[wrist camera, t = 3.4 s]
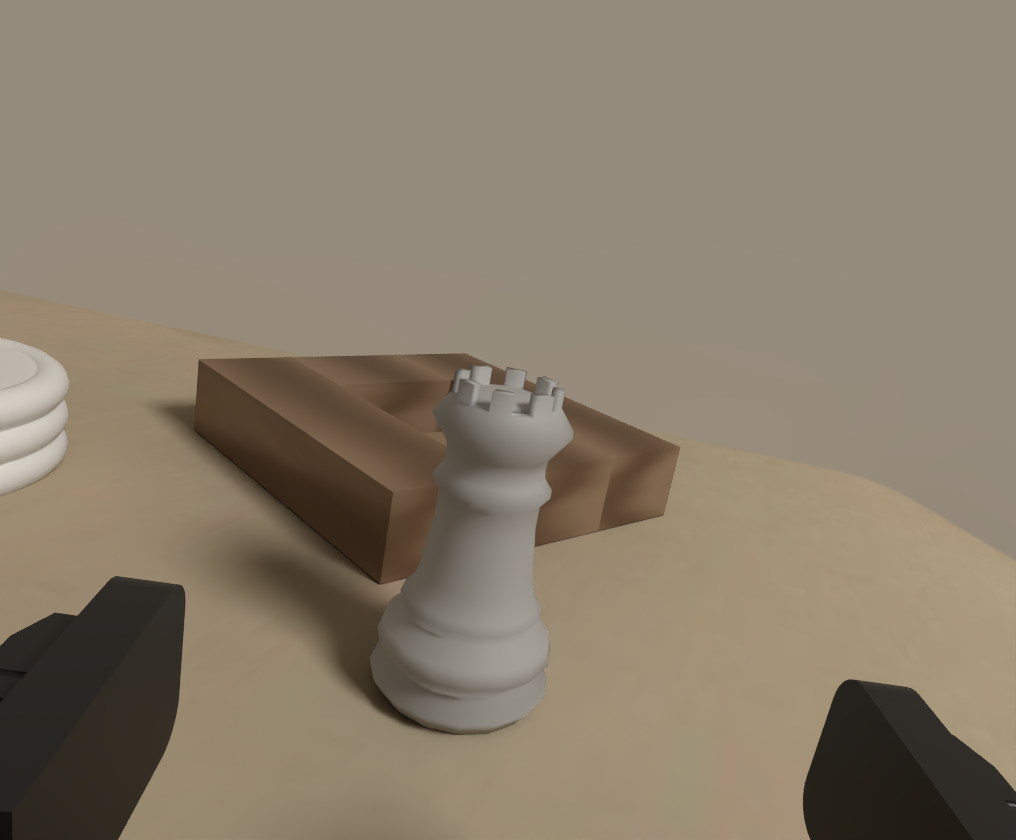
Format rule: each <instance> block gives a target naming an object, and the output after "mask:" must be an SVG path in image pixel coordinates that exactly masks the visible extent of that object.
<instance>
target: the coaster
mask: <svg viewBox="0 0 1016 840" xmlns="http://www.w3.org/2000/svg"><path fill="white" fill-rule="evenodd" d="M68 388H69V380H68V377H67V374H66V371H65V369H64V368H63V367H62V366H61V365H60V364H59V363H58V362H57V361H56V360H55V359H54V358H52V357H51V356H50V355H48V354H46V353H45V352H43V351H41V350H39V349H36V348H34V347H31V346H28V345H25V344H23V343H19V342H15V341H12V340H8V339H4V338H0V496H2V495H5V494H8V493H11V492H13V491H16V490H19V489H21V488H24V487H26V486H28V485H30V484H33V483H34V482H36V481H38V480H40V479H42V478H43V477H45V476H46V475H48V474H49V473H50V472H52V471H53V470H54V469H55V468H56V467H57V466H58V465H59V464H60V463H61V461H62V459H63V457H64V455H65V452H66V450H67V447H68V439H67V436H66V433H65V431H64V427H65V425H66V422H67V420H68V409H67V406H66V403H65V401H64V398H65V396H66V394H67V391H68Z"/></svg>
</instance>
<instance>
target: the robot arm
mask: <svg viewBox="0 0 1016 840" xmlns="http://www.w3.org/2000/svg"><path fill="white" fill-rule="evenodd" d="M184 617H185V592H184V588H183V587H182V586H181V585H177V584H170V583H163V582H156V581H148V580H141V579H134V578H127V577H119V576H116V577H113V578H111V579H110V580H109V581H108V582H107V583H106V584H105V586H104V587H103V588H102V589H101V590H100V591H99V592H98V593H97V595H96V596H95V597H94V598H93V599H92V600H91V601H90V602H89V604H88V605H87V606H86V607H85V608H84V609H83V610H82V611H81V613H80V614H79V615H78V616H75V615H68V614H60V613H54V614H52V615H50V616H48V617H46V618H44V619H42V620H40V621H38V622H36V623H34V624H32V625H30V626H28V627H26V628H24V629H22V630H21V631H19V632H17V633H15V634H13V635H11V636H10V637H9V638H8V639H7V640H6V641H5V642H4V643H3V644H2V645H1V646H0V840H118V839H119V837H120V835H121V833H122V831H123V829H124V827H125V825H126V824H127V822H128V820H129V818H130V816H131V814H132V812H133V811H134V809H135V807H136V805H137V803H138V801H139V799H140V798H141V796H142V794H143V792H144V790H145V788H146V786H147V784H148V783H149V781H150V779H151V777H152V775H153V773H154V771H155V770H156V768H157V766H158V764H159V762H160V760H161V758H162V756H163V754H164V752H165V750H166V747H167V745H168V742H169V739H170V736H171V733H172V730H173V726H174V723H175V718H176V714H177V708H178V702H179V690H180V675H181V661H182V646H183V631H184ZM803 812H804V820H805V824H806V828H807V832H808V835H809V837H810V839H811V840H1016V792H1015V791H1014V789H1013V788H1012V787H1011V786H1010V785H1009V783H1008V782H1007V781H1006V780H1005V779H1004V777H1003V776H1002V775H1001V774H1000V773H999V772H998V770H997V769H996V768H995V767H994V766H993V765H991V764H990V763H989V762H988V761H986V760H985V759H984V758H982V757H981V756H980V755H978V754H977V753H976V752H975V751H973V750H972V749H971V748H969V747H968V746H967V745H966V744H964V743H963V742H962V741H960V740H959V739H958V738H957V737H955V736H954V735H951V733H950V732H949V731H948V730H947V728H946V727H945V726H944V725H943V724H942V722H941V721H940V720H939V719H938V717H937V716H936V715H935V714H934V712H933V711H932V710H931V709H930V708H929V706H928V705H927V704H926V703H925V701H924V700H923V699H922V698H921V697H920V695H919V694H918V693H917V692H916V691H914V690H913V689H911V688H908V687H903V686H896V685H889V684H881V683H874V682H867V681H860V680H846V681H844V682H843V683H842V684H841V685H840V686H839V687H838V689H837V691H836V693H835V695H834V698H833V701H832V704H831V707H830V710H829V713H828V716H827V719H826V722H825V725H824V728H823V731H822V733H821V736H820V739H819V742H818V745H817V748H816V751H815V754H814V757H813V760H812V763H811V766H810V769H809V772H808V775H807V778H806V781H805V786H804V793H803Z"/></svg>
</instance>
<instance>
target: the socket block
mask: <svg viewBox="0 0 1016 840" xmlns="http://www.w3.org/2000/svg"><path fill="white" fill-rule="evenodd" d="M470 365H488V366H489V367H491V368H492V372H491V378H490V384H494V385H504V380H505V374H506V371H504V370H502V369H499V368H497V367H495V366H493V365H490V364H488V363H486V362H483V361H481V360H479V359H476V358H474V357H472V356H470V355H467V354H465V353H463V354H421V355H420V354H418V355H376V356H375V355H374V356H330V357H286V358H242V359H199V365H198V380H197V395H196V410H195V425H194V429H195V430H196V431H197V432H198V433H200V434H201V435H202V436H203V437H204V438H206V439H207V440H208V441H209V442H210V443H212V444H213V445H214V446H215V447H216V448H218V449H219V450H220V451H221V452H222V453H224V454H225V455H226V456H227V457H228V458H230V459H231V460H232V461H233V462H234V463H236V464H237V465H238V466H239V467H240V468H242V469H243V470H244V471H245V472H246V473H248V474H249V475H250V476H251V477H252V478H254V479H255V480H256V481H257V482H258V483H260V484H261V485H262V486H263V487H264V488H266V489H267V490H268V491H269V492H270V493H272V494H273V495H274V496H275V497H276V498H278V499H279V500H280V501H281V502H282V503H284V504H285V505H286V506H287V507H288V508H290V509H291V510H292V511H293V512H294V513H295V514H297V515H298V516H299V517H300V518H301V519H303V520H304V521H305V522H306V523H307V524H309V525H310V526H311V527H312V528H313V529H315V530H316V531H317V532H318V533H319V534H321V535H322V536H323V537H324V538H325V539H327V540H328V541H329V542H330V543H331V544H333V545H334V546H335V547H336V548H337V549H339V550H340V551H341V552H342V553H343V554H345V555H346V556H347V557H348V558H349V559H351V560H352V561H353V562H354V563H355V564H357V565H358V566H359V567H360V568H361V569H363V570H364V571H365V572H366V573H367V574H369V575H370V576H371V577H372V578H373V579H375V580H376V581H377V582H378V583H379V584H382V583H386V582H390V581H394V580H399V579H403V578H407V577H408V576H410V575H412V574H414V573H415V571H416V569H417V567H418V565H419V563H420V560H421V557H422V554H423V550H424V547H425V544H426V541H427V538H428V534H429V531H430V528H431V525H432V522H433V518H434V515H435V509H436V502H437V496H438V490H439V487H438V485H437V484H436V482H435V480H434V477H433V475H432V473H433V472H434V470H435V469H436V467H437V466H438V465H439V464H440V463H442V462H443V461H444V459H445V456H446V452H447V440H446V438H445V436H444V434H443V432H442V430H441V428H440V426H439V424H438V423H437V421H436V419H435V417H434V415H433V413H432V410H433V409H434V408H435V406H436V405H437V404H438V403H439V402H440V401H441V400H442V399H443V398H444V397H445V396H447V395H448V394H449V393H450V392H451V391H452V388H453V381H454V375H455V372H456V370H457V369H458V368H462V369H466V370H470ZM535 388H536V384H534V383H531V382H529V381H527V380H525V384H524V390H527V391H530V392H533V393H535ZM562 410H563V412H564V414H565V415H566V417H567V419H568V421H569V423H570V425H571V427H572V429H573V431H574V433H573V439H572V440H571V441H570V442H569V443H568V444H567V445H566V446H565V447H564V448H563V449H561V450H560V451H559V452H558V453H557V454H556V455H555V456H554V457H553V458H551V459H550V460H549V461H548V464H547V467H546V472H545V479H546V481H547V483H548V484H549V486H550V488H551V490H552V492H551V497H550V499H549V500H548V501H547V502H546V503H544V504H543V505H542V506H541V507H540V508H539V513H538V518H537V523H536V528H535V546H538V545H542V544H546V543H550V542H554V541H559V540H563V539H567V538H571V537H575V536H579V535H583V534H587V533H591V532H595V531H600V530H604V529H608V528H612V527H616V526H620V525H624V524H628V523H632V522H637V521H641V520H645V519H649V518H653V517H657V516H661V515H664V511H665V507H666V503H667V499H668V495H669V491H670V487H671V483H672V479H673V475H674V471H675V467H676V462H677V458H678V454H679V450H680V447H678V446H676V445H674V444H672V443H669V442H667V441H665V440H662V439H660V438H658V437H655V436H653V435H651V434H649V433H646V432H644V431H642V430H639V429H637V428H635V427H633V426H630V425H628V424H626V423H623V422H621V421H619V420H616V419H614V418H612V417H610V416H607V415H605V414H603V413H600V412H598V411H596V410H593V409H591V408H589V407H587V406H584V405H582V404H580V403H577V402H575V401H573V400H571V399H568V398H566V397H564V399H563V404H562Z"/></svg>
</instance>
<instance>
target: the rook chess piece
mask: <svg viewBox="0 0 1016 840" xmlns="http://www.w3.org/2000/svg"><path fill="white" fill-rule="evenodd" d="M491 372H492V368H491V367H489V366H488V365H470V370H466V369H462V368H458V369H457V370H456V372H455V375H454V381H453V388H452V391H451V392H450V393H449V394H448V395H447V396H445V397H444V398H443V399H442V400H441V401H440V402H439V403H438V404H437V405H436V406H435V408H434V409H433V410H432V413H433V415H434V417H435V419H436V421H437V423H438V424H439V426H440V428H441V430H442V432H443V434H444V436H445V438H446V440H447V452H446V456H445V459H444V461H443V462H442V463H440V464H439V465H438V466H437V467H436V469H435V470H434V472H433V473H432V475H433V477H434V480H435V482H436V484H437V485H438V487H439V490H438V496H437V502H436V509H435V515H434V518H433V522H432V525H431V528H430V531H429V534H428V538H427V541H426V544H425V547H424V550H423V554H422V557H421V560H420V563H419V565H418V567H417V569H416V571H415V573H414V574H412V575H410V576H408V577H407V579H406V580H405V582H404V584H403V586H402V588H401V593H399V594H398V595H396V596H395V597H393V598H392V599H391V601H390V603H389V605H388V606H387V608H386V610H385V612H384V614H383V616H382V618H381V620H380V622H379V624H378V626H377V631H378V636H379V641H378V643H377V645H376V647H375V649H374V651H373V653H372V654H371V656H370V658H369V659H370V664H371V669H372V674H373V680H374V681H375V683H376V684H377V686H378V687H379V688H380V690H381V691H382V693H383V694H384V696H385V697H386V698H387V699H388V700H389V701H390V703H391V704H392V705H393V706H394V707H395V708H396V709H397V711H398V712H399V713H400V714H402V715H404V716H406V717H408V718H409V719H411V720H413V721H415V722H417V723H419V724H420V725H422V726H424V727H426V728H430V729H435V730H439V731H443V732H448V733H452V734H457V735H461V734H488V733H491V732H494V731H496V730H499V729H502V728H505V727H508V726H510V725H513V724H514V723H516V722H517V721H519V720H520V719H521V718H523V717H524V716H526V715H527V714H528V713H529V712H530V711H531V710H532V709H533V708H534V707H535V706H536V705H537V704H538V703H539V702H540V701H541V700H542V699H543V698H544V691H545V684H546V676H545V674H544V672H543V670H544V669H545V668H546V667H547V666H548V659H549V652H550V641H549V633H548V631H547V629H546V627H545V625H544V623H543V622H542V620H541V618H540V610H541V605H540V603H539V601H538V600H537V598H536V596H535V594H534V583H533V565H534V546H535V528H536V523H537V518H538V513H539V508H540V507H541V506H542V505H543V504H544V503H546V502H547V501H548V500H549V499H550V497H551V492H552V490H551V488H550V486H549V484H548V483H547V481H546V479H545V472H546V467H547V464H548V461H549V460H550V459H551V458H553V457H554V456H555V455H556V454H557V453H558V452H559V451H560V450H561V449H563V448H564V447H565V446H566V445H567V444H568V443H569V442H570V441H571V440H572V439H573V433H574V431H573V429H572V427H571V425H570V423H569V421H568V419H567V417H566V415H565V414H564V412H563V410H562V404H563V399H564V394H565V389H563V388H558V384H559V383H558V382H556V381H554V380H552V379H549V378H547V377H538V378H537V383H536V388H535V393H533V392H530V391H527V390H524V384H525V379H526V373H527V371H524V370H519V369H514V368H509V367H507V369H506V374H505V380H504V385H494V384H490V378H491Z"/></svg>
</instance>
